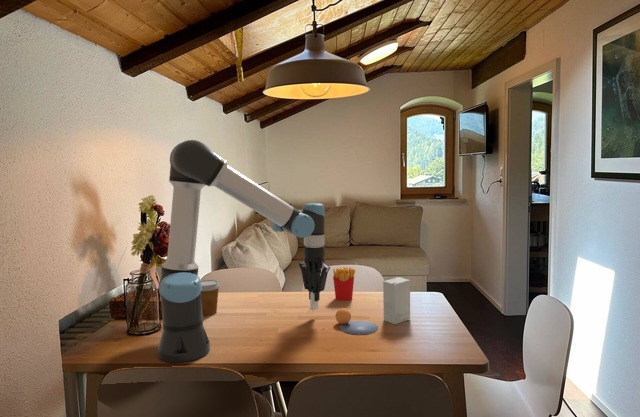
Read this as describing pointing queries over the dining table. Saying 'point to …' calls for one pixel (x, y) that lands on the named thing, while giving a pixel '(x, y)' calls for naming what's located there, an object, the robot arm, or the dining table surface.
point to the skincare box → (396, 300)
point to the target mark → (359, 327)
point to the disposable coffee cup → (209, 296)
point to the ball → (343, 316)
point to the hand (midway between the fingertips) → (314, 309)
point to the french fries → (343, 283)
